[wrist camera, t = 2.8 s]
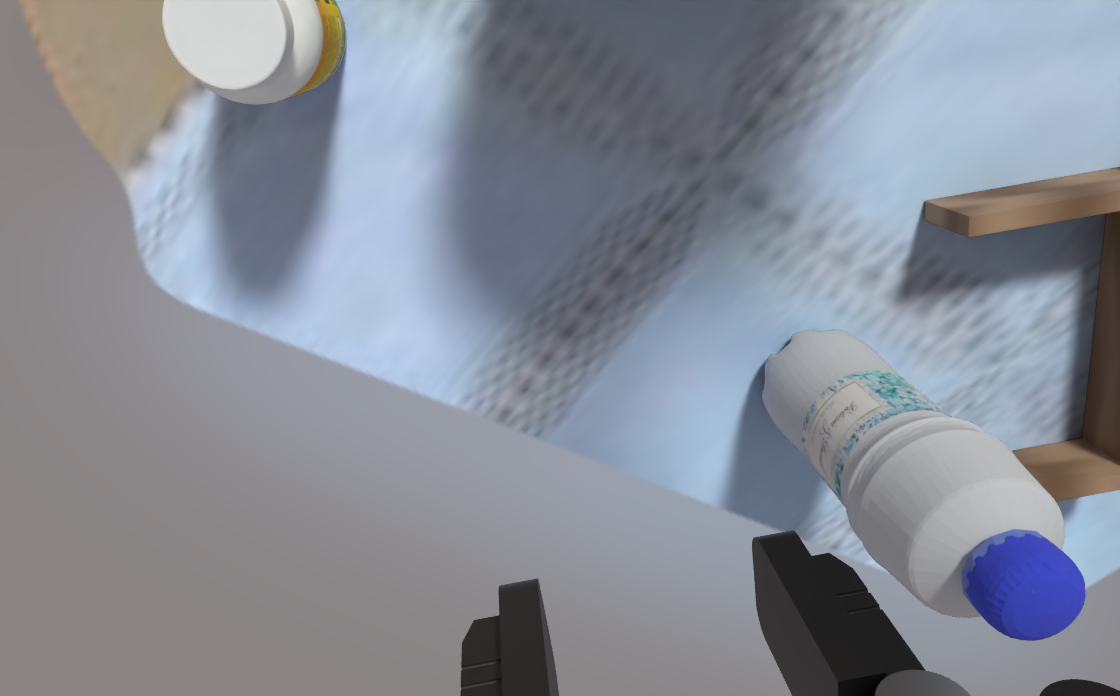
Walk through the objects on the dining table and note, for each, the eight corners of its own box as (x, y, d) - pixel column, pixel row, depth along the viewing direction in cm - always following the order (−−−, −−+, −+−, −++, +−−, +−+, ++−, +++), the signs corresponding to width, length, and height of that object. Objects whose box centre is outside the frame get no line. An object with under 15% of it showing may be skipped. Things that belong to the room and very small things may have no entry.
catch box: (918, 482, 47) (956, 520, 43) (924, 200, 41) (969, 216, 37) (1096, 449, 47) (1149, 484, 44) (1129, 165, 41) (1194, 177, 37)
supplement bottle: (211, 66, 35) (120, 74, 26) (240, -58, 34) (155, -93, 25) (330, 112, 37) (282, 134, 28) (364, -6, 35) (325, -22, 26)
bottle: (784, 297, 42) (1025, 499, 23) (888, 339, 43) (1194, 560, 25) (727, 405, 44) (908, 669, 25) (829, 441, 45) (1071, 717, 27)
